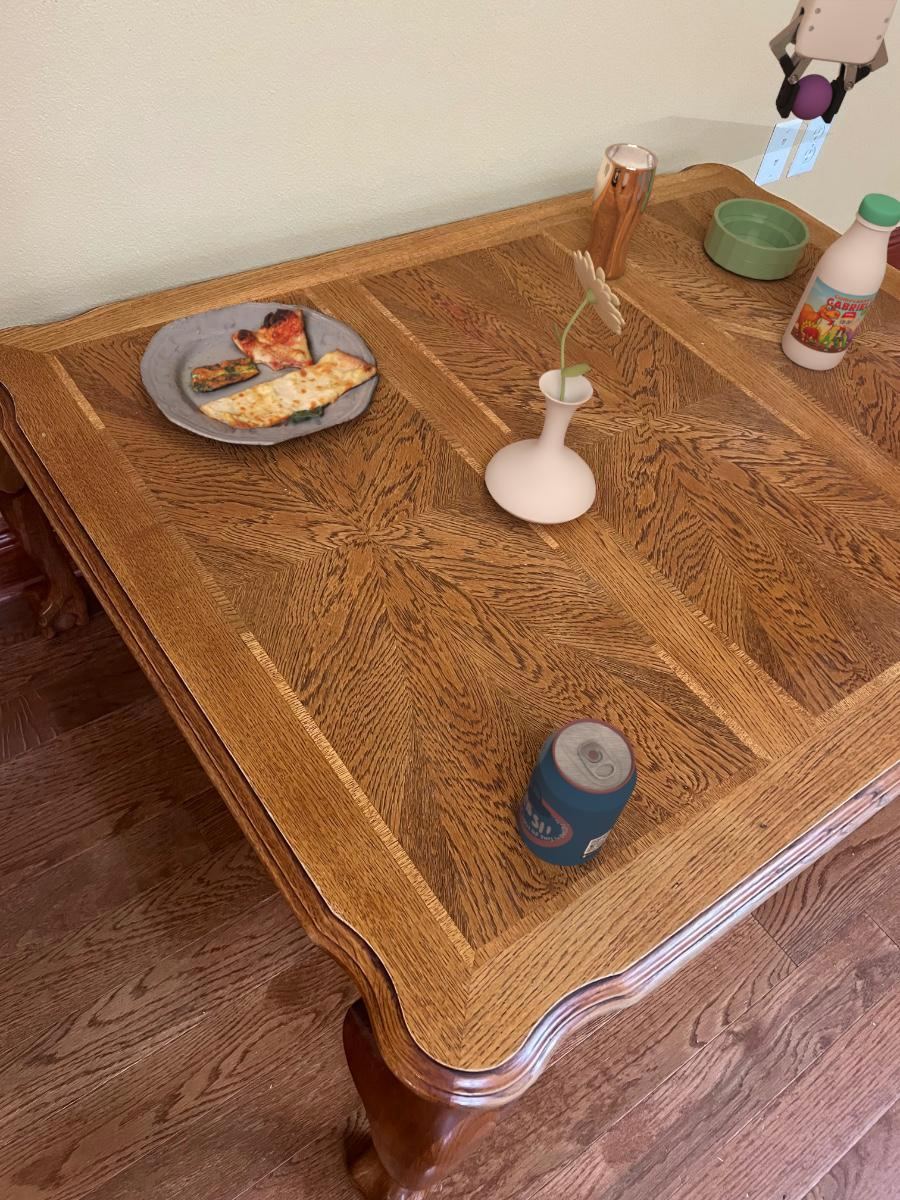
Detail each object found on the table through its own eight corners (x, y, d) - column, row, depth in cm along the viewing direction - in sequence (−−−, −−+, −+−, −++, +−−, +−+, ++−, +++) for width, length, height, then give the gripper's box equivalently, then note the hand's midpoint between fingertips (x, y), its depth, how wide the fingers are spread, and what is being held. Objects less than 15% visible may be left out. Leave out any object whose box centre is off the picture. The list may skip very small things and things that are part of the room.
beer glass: (568, 254, 126) (594, 142, 115) (615, 251, 128) (645, 141, 117) (588, 283, 122) (617, 171, 111) (635, 280, 124) (669, 169, 113)
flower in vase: (597, 538, 93) (672, 324, 74) (484, 530, 92) (530, 310, 73) (584, 450, 102) (649, 236, 82) (480, 441, 101) (521, 222, 81)
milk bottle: (767, 338, 119) (836, 186, 104) (817, 331, 122) (891, 182, 106) (801, 376, 115) (878, 223, 100) (852, 368, 117) (934, 218, 102)
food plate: (312, 298, 113) (312, 272, 111) (417, 412, 102) (420, 386, 100) (110, 352, 103) (105, 325, 100) (203, 486, 92) (200, 459, 89)
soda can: (497, 814, 73) (524, 735, 64) (567, 776, 76) (603, 695, 67) (547, 889, 70) (584, 817, 61) (619, 847, 73) (664, 772, 63)
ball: (815, 111, 119) (832, 69, 115) (826, 129, 116) (844, 87, 112) (777, 106, 118) (794, 64, 114) (788, 125, 115) (805, 82, 111)
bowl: (781, 235, 137) (795, 202, 133) (806, 287, 128) (821, 254, 124) (694, 227, 135) (705, 194, 131) (713, 279, 127) (726, 245, 123)
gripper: (931, -55, 106) (857, 110, 120) (789, -76, 104) (730, 95, 118) (956, -31, 102) (876, 138, 116) (807, -52, 99) (744, 122, 114)
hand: (803, 114), depth 117 cm, fingers closed on ball, 4 cm apart
